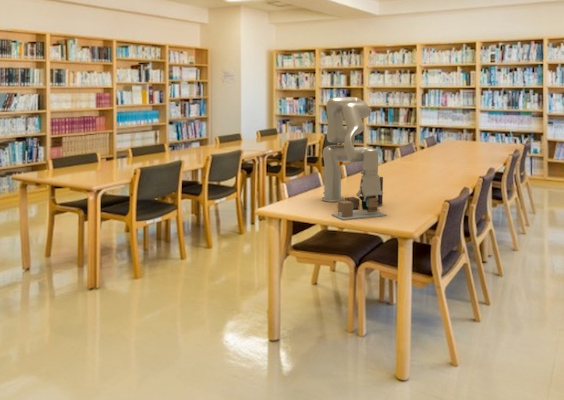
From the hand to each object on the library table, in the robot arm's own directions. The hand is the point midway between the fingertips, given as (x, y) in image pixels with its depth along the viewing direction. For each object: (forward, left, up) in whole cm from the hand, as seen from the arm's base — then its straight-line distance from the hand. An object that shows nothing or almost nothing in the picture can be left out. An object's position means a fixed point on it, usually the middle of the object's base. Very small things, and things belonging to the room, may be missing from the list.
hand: (369, 207), depth 297 cm
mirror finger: (-11, -4, -4) cm, 12 cm away
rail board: (0, -6, -4) cm, 7 cm away
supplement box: (-20, +15, -4) cm, 25 cm away
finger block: (0, 0, -1) cm, 2 cm away
